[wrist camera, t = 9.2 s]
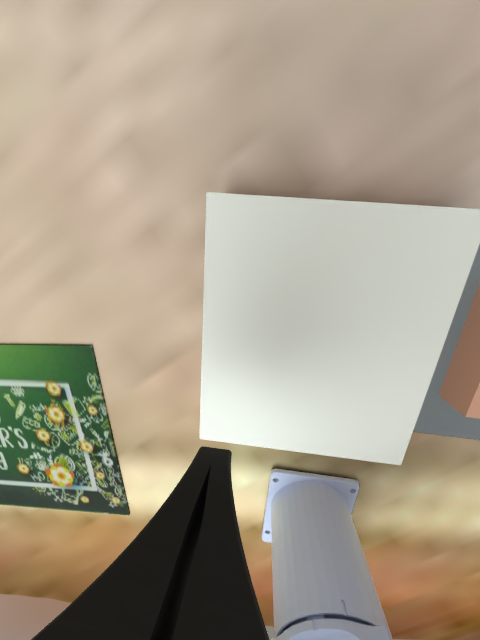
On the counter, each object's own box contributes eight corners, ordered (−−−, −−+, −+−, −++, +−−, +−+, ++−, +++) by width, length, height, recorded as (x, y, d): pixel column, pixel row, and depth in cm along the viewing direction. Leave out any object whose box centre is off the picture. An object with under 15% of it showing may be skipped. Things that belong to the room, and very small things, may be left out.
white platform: (373, 423, 20) (400, 465, 16) (211, 404, 21) (199, 438, 17) (433, 220, 15) (491, 209, 11) (219, 205, 16) (206, 192, 12)
